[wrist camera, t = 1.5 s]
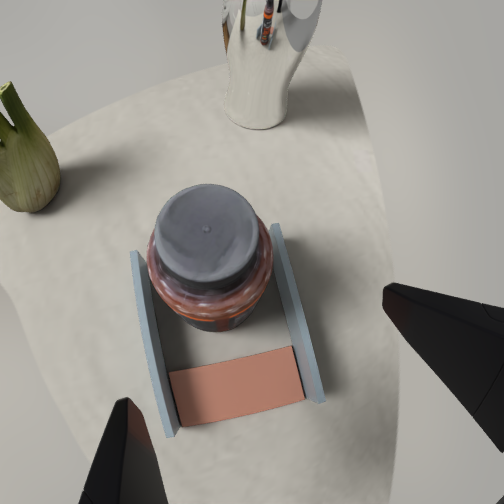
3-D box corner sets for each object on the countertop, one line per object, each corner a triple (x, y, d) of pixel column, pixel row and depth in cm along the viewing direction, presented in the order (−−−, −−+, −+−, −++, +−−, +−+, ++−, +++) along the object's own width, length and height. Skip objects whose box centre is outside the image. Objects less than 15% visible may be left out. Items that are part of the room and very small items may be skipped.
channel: (312, 395, 20) (325, 401, 17) (173, 427, 19) (166, 437, 16) (271, 238, 24) (278, 222, 21) (140, 264, 22) (129, 251, 19)
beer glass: (231, 79, 29) (242, -49, 15) (296, 94, 29) (332, -31, 15) (208, 123, 27) (209, -26, 13) (283, 142, 27) (326, -6, 13)
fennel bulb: (67, 161, 24) (12, 69, 13) (71, 205, 23) (0, 114, 12) (18, 184, 23) (-47, 107, 12) (19, 228, 22) (-63, 157, 11)
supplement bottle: (264, 262, 23) (301, 181, 12) (246, 342, 21) (270, 329, 10) (186, 242, 23) (161, 150, 12) (163, 320, 21) (107, 284, 10)
